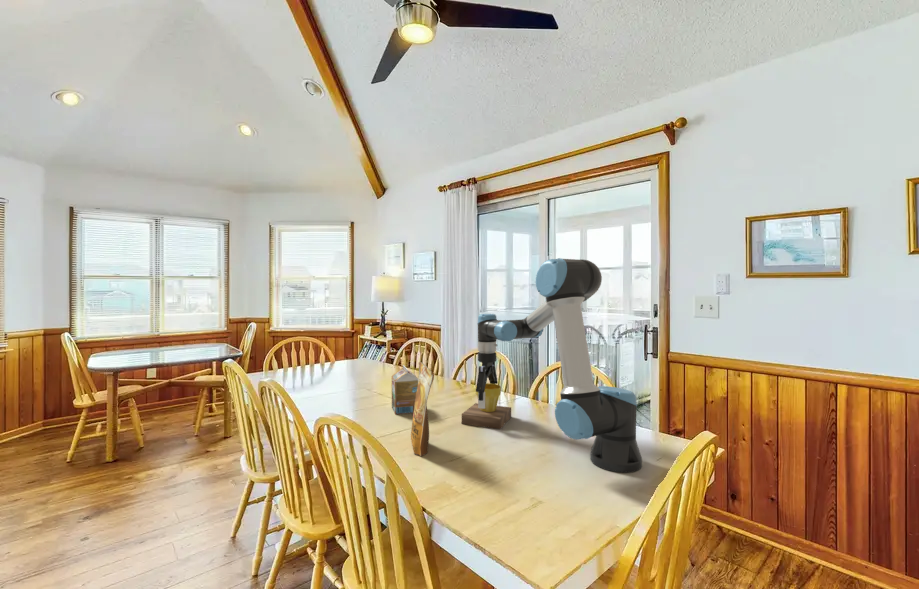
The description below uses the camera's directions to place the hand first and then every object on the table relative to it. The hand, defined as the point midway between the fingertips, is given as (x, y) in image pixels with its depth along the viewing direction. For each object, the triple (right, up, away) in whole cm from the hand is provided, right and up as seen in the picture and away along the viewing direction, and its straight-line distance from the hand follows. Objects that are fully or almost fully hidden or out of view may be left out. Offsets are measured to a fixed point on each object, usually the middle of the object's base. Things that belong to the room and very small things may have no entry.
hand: (487, 403), depth 172 cm
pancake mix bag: (-24, -8, -28) cm, 38 cm away
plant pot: (0, -3, +1) cm, 3 cm away
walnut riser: (0, -7, 0) cm, 7 cm away
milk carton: (-35, -7, +15) cm, 39 cm away
